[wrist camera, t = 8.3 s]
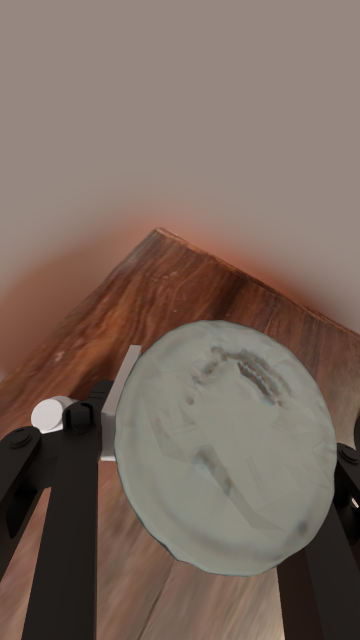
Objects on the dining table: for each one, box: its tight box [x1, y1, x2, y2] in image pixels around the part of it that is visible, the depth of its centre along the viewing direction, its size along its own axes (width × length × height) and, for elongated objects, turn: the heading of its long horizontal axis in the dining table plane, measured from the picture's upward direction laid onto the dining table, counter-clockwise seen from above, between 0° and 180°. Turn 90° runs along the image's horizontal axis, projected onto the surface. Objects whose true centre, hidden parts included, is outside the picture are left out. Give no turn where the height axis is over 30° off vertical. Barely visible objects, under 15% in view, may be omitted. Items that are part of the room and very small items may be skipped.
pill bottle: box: [31, 396, 79, 433], centre depth 33 cm, size 5×5×10 cm
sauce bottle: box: [113, 320, 337, 577], centre depth 13 cm, size 7×6×20 cm
